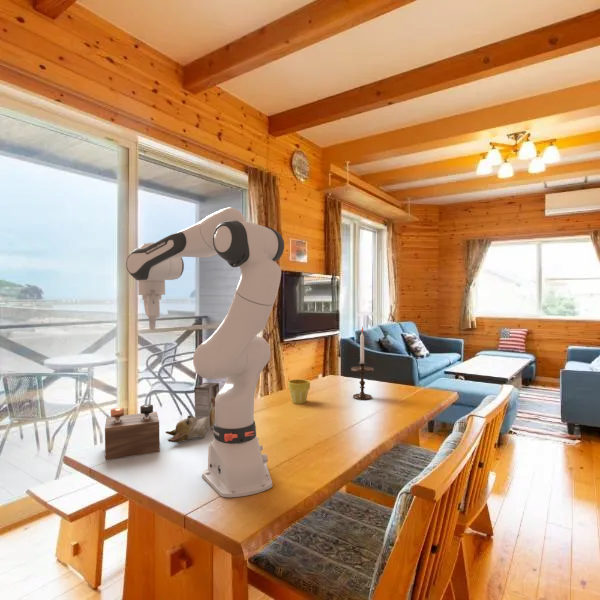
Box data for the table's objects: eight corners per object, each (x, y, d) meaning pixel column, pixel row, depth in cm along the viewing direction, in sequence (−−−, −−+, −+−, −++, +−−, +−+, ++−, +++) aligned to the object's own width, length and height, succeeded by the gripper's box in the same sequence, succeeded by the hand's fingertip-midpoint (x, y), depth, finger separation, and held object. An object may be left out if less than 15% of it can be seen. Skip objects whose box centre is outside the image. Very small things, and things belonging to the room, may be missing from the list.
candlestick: (357, 393, 205) (357, 324, 204) (377, 397, 199) (377, 325, 198) (347, 398, 196) (346, 326, 196) (367, 401, 190) (367, 327, 189)
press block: (159, 451, 132) (159, 421, 132) (105, 460, 126) (104, 428, 125) (157, 439, 143) (156, 411, 143) (106, 446, 137) (106, 417, 136)
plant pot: (314, 400, 192) (314, 380, 192) (302, 406, 184) (302, 384, 183) (295, 397, 198) (295, 378, 198) (283, 403, 189) (283, 382, 189)
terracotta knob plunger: (124, 450, 132) (123, 410, 131) (111, 452, 130) (110, 411, 130) (124, 445, 135) (124, 407, 135) (111, 447, 134) (110, 408, 133)
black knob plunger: (153, 445, 135) (153, 407, 135) (141, 447, 134) (140, 408, 133) (153, 441, 139) (152, 404, 138) (140, 443, 137) (140, 405, 137)
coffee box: (204, 422, 162) (204, 382, 162) (219, 423, 161) (219, 382, 161) (194, 429, 153) (194, 387, 153) (210, 430, 152) (209, 388, 152)
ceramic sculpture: (211, 415, 141) (166, 424, 136) (213, 440, 142) (168, 449, 136) (206, 408, 151) (164, 415, 145) (207, 431, 152) (165, 439, 146)
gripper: (163, 289, 133) (164, 331, 134) (159, 290, 152) (159, 326, 152) (143, 289, 131) (143, 332, 131) (141, 290, 150) (141, 327, 150)
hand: (152, 329), depth 142 cm, fingers closed
